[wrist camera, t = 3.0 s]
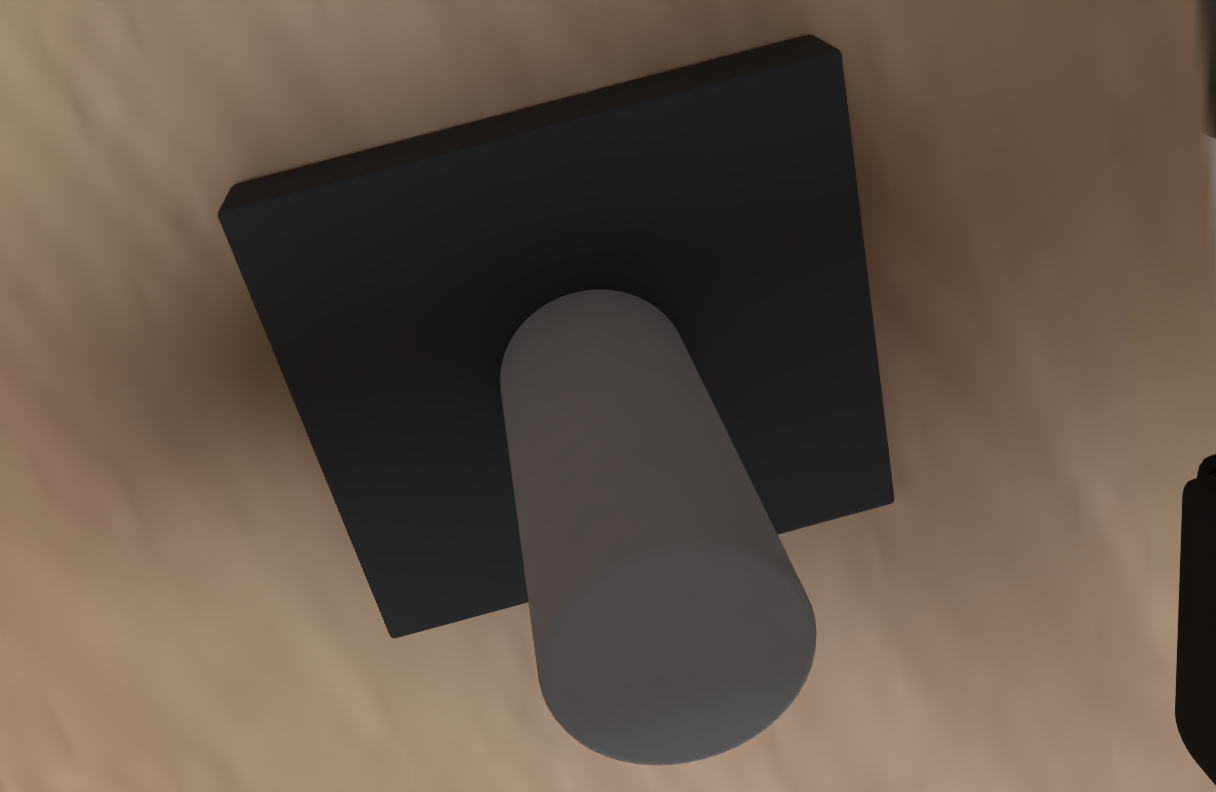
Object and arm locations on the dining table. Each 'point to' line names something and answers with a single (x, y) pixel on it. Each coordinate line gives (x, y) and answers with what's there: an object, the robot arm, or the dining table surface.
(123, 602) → the dining table surface
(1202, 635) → the robot arm
